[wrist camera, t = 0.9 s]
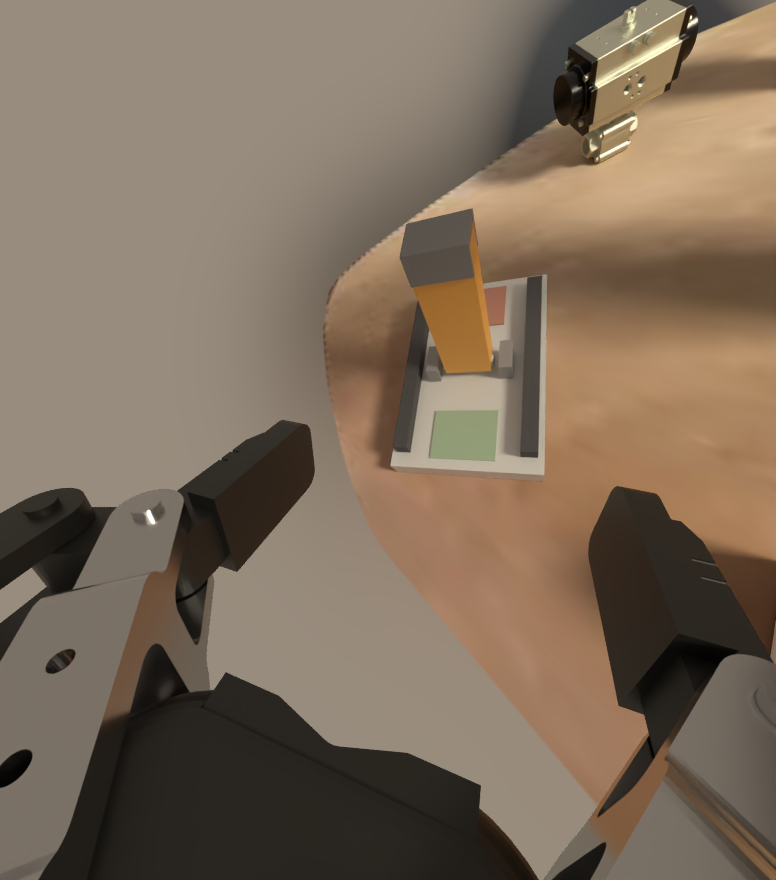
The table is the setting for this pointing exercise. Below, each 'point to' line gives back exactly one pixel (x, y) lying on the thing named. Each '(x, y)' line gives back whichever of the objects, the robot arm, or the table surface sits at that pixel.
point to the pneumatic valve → (623, 72)
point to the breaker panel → (480, 401)
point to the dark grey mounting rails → (529, 376)
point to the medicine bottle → (774, 646)
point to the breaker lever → (450, 289)
